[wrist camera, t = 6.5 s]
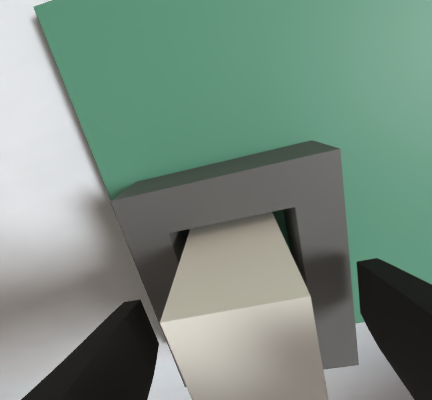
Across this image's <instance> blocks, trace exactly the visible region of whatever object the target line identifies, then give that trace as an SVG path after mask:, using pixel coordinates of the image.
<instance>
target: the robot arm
mask: <svg viewBox="0 0 432 400" xmlns="http://www.w3.org/2000/svg"><path fill="white" fill-rule="evenodd" d="M357 275H358V288H359V302H360V313H361V315H362V317H363V319H364V321H365V323H366V325H367V327H368V329H369V331H370V332H371V334H372V336H373V338H374V340H375V341H376V343H377V345H378V347H379V348H380V350H381V351H382V353H383V354H384V356H385V357H386V359H387V360H388V362H389V363H390V364H391V366H392V367H393V369H394V370H395V372H396V373H397V375H398V376H399V378H400V379H401V381H402V382H403V383H404V385H405V386H406V388H407V389H408V391H409V392H410V394H411V395H412V397H413V398H414V399H415V400H432V284H430V283H428V282H426V281H424V280H422V279H420V278H417V277H415V276H413V275H411V274H409V273H407V272H405V271H403V270H401V269H399V268H397V267H395V266H393V265H391V264H389V263H387V262H385V261H383V260H380V259H378V258H374V259H369V260H363V261H357ZM158 346H159V343H158V341H157V338H156V336H155V333H154V331H153V329H152V326H151V324H150V321H149V319H148V317H147V314H146V312H145V309H144V307H143V305H142V302H141V300H135V301H129V302H124V303H123V304H122V305H121V306H119V307H118V308H117V309H116V310H115V311H114V312H113V313H112V314H111V315H110V316H109V317H108V318H107V319H106V320H105V321H104V322H103V323H101V324H100V325H99V326H98V327H97V328H96V329H95V330H94V331H93V332H92V333H91V334H90V335H89V336H88V337H87V338H86V339H85V340H84V341H83V342H82V343H81V344H80V345H79V346H78V347H77V348H76V349H75V350H74V351H73V352H72V353H71V354H70V355H69V356H68V357H67V358H66V359H65V360H64V361H63V362H62V363H60V364H59V365H58V366H57V367H56V368H55V369H54V370H53V371H52V372H51V373H50V374H49V375H48V376H46V377H45V378H44V379H43V380H42V381H41V382H40V383H39V384H38V385H37V386H36V387H35V388H34V389H32V390H31V391H30V392H29V393H28V394H27V395H26V396H25V397H24V398H22V399H21V400H147V398H148V394H149V391H150V387H151V384H152V380H153V376H154V370H155V365H156V359H157V352H158Z"/></svg>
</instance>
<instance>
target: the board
mask: <svg viewBox="0 0 432 400" xmlns="http://www.w3.org/2000/svg"><path fill="white" fill-rule="evenodd" d="M34 10H35V12H36V15H37V17H38V20H39V22H40V25H41V27H42V29H43V32H44V34H45V37H46V39H47V42H48V44H49V47H50V49H51V52H52V54H53V57H54V59H55V62H56V64H57V67H58V69H59V72H60V74H61V77H62V79H63V82H64V84H65V87H66V89H67V92H68V94H69V97H70V99H71V102H72V104H73V107H74V109H75V112H76V114H77V117H78V119H79V122H80V124H81V127H82V129H83V132H84V134H85V137H86V139H87V142H88V144H89V147H90V149H91V152H92V154H93V157H94V159H95V162H96V164H97V167H98V169H99V172H100V174H101V177H102V179H103V182H104V184H105V187H106V189H107V191H108V194H109V196H110V199H111V201H110V202H111V204H112V207H113V209H114V212H115V214H116V217H117V219H118V222H119V224H120V227H121V229H122V232H123V234H124V237H125V239H126V242H127V244H128V247H129V249H130V251H131V254H132V256H133V259H134V261H135V264H136V266H137V269H138V271H139V274H140V276H141V279H142V281H143V284H144V286H145V289H146V291H147V294H148V296H149V299H150V301H151V304H152V306H153V309H154V311H155V314H156V316H157V319H158V321H159V323H160V321H161V318H162V315H163V311H164V308H165V305H166V302H167V299H168V296H169V293H170V290H171V287H172V284H173V281H174V278H175V275H176V271H177V268H178V265H179V262H180V259H181V256H182V253H183V250H184V247H185V244H186V241H187V238H188V235H189V231H190V229H191V228H196V227H201V226H206V225H211V224H215V223H220V222H225V221H230V220H235V219H240V218H244V217H249V216H254V215H259V214H264V213H269V212H272V213H273V215H274V218H275V220H276V222H277V224H278V226H279V228H280V231H281V233H282V235H283V237H284V239H285V241H286V244H287V246H288V248H289V250H290V252H291V255H292V257H293V259H294V261H295V263H296V265H297V268H298V270H299V272H300V274H301V276H302V278H303V281H304V283H305V285H306V287H307V289H308V292H309V294H310V296H311V301H312V307H313V313H314V319H315V325H316V331H317V336H318V342H319V348H320V354H321V360H322V366H323V369H330V368H338V367H346V366H354V365H359V363H358V352H357V340H356V328H355V323H360V322H365V321H364V319H363V317H362V315H361V313H360V302H359V288H358V275H357V261H363V260H369V259H374V258H378V259H380V260H383V261H385V262H387V263H389V264H391V265H393V266H395V267H397V268H399V269H401V270H403V271H405V272H407V273H409V274H411V275H413V276H415V277H417V278H420V279H422V280H424V281H426V282H428V283H430V284H432V0H52V1H49V2H46V3H43V4H40V5H38V6H35V7H34ZM160 326H161V324H160ZM161 328H162V327H161ZM162 331H163V329H162ZM163 333H164V331H163ZM164 336H165V334H164ZM165 338H166V336H165ZM166 341H167V339H166ZM167 343H168V341H167ZM168 346H169V343H168ZM169 348H170V346H169ZM170 351H171V353H172V350H171V348H170ZM172 356H173V358H174V361H175V363H176V366H177V368H178V371H179V373H180V376H181V378H182V381H183V383H184V386H185V387H187V386H186V384H185V381H184V379H183V376H182V374H181V372H180V369H179V367H178V365H177V362H176V360H175V357H174V355H173V353H172Z"/></svg>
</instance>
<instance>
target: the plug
mask: <svg viewBox="0 0 432 400" xmlns="http://www.w3.org/2000/svg"><path fill="white" fill-rule="evenodd" d="M160 324H161V327H162V329H163V331H164V334H165V336H166V339H167V341H168V343H169V346H170V348H171V350H172V353H173V355H174V357H175V360H176V362H177V365H178V367H179V369H180V372H181V374H182V376H183V379H184V381H185V384H186V386H187V388H188V391H189V393H190V395H191V398H192V400H328V395H327V389H326V384H325V378H324V372H323V366H322V360H321V354H320V348H319V342H318V336H317V331H316V325H315V319H314V313H313V307H312V301H311V296H310V294H309V292H308V289H307V287H306V285H305V283H304V281H303V278H302V276H301V274H300V272H299V270H298V268H297V265H296V263H295V261H294V259H293V257H292V255H291V252H290V250H289V248H288V246H287V244H286V241H285V239H284V237H283V235H282V233H281V231H280V228H279V226H278V224H277V222H276V220H275V218H274V215H273V213H272V212H269V213H264V214H259V215H254V216H249V217H244V218H240V219H235V220H230V221H225V222H220V223H215V224H211V225H206V226H201V227H196V228H191V229H190V231H189V235H188V238H187V241H186V244H185V247H184V250H183V253H182V256H181V259H180V262H179V265H178V268H177V271H176V275H175V278H174V281H173V284H172V287H171V290H170V293H169V296H168V299H167V302H166V305H165V308H164V311H163V315H162V318H161V321H160Z"/></svg>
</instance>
